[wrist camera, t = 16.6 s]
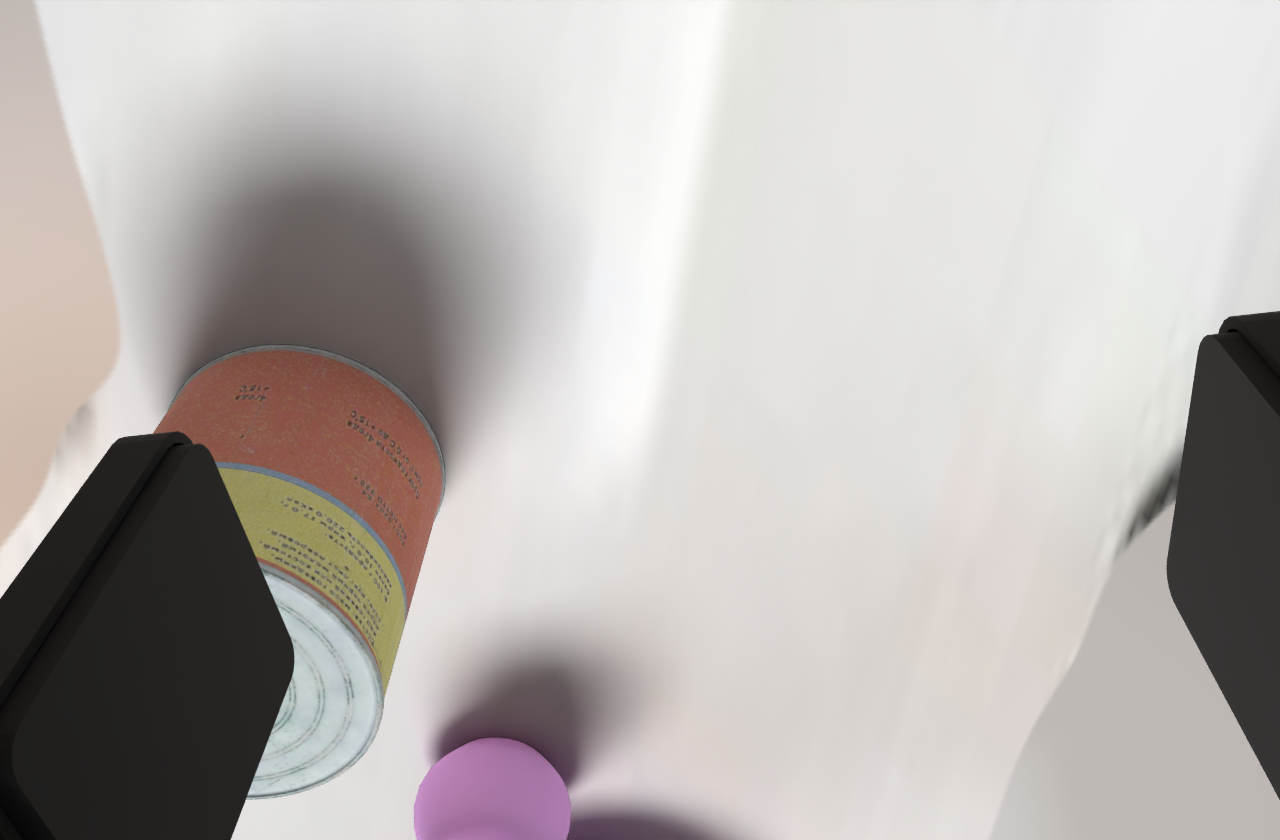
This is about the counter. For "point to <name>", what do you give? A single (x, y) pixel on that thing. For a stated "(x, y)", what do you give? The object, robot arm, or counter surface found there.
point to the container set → (492, 795)
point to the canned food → (321, 532)
